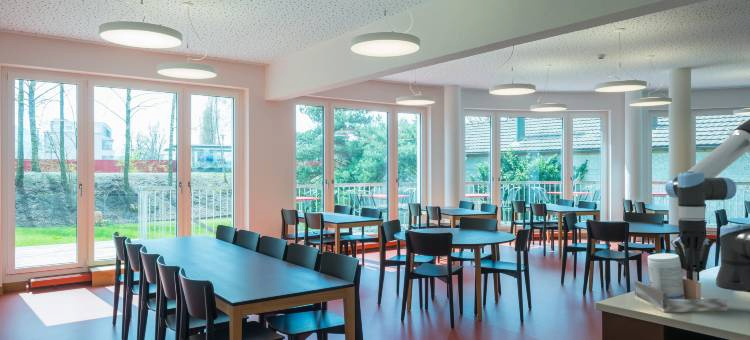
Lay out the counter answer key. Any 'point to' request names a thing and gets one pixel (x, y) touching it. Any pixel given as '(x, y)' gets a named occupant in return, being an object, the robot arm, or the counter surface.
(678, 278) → the supplement tub
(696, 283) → the plate
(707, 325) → the counter surface
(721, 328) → the counter surface
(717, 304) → the grey tray
